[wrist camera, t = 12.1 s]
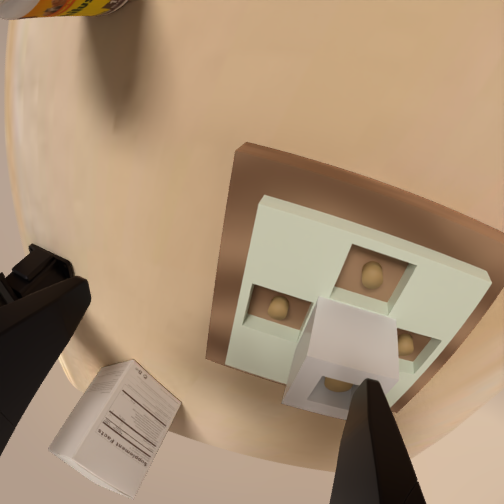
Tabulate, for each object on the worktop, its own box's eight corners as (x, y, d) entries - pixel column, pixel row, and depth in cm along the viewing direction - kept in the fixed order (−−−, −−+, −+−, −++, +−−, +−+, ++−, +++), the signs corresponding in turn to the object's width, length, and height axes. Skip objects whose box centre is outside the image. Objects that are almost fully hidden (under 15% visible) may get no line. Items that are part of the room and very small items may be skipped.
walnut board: (397, 395, 26) (394, 460, 20) (213, 342, 28) (182, 404, 23) (512, 237, 16) (556, 308, 10) (246, 142, 18) (194, 184, 12)
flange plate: (486, 270, 15) (515, 339, 11) (388, 398, 24) (385, 457, 19) (264, 194, 17) (228, 250, 13) (229, 353, 25) (204, 410, 21)
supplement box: (145, 405, 42) (99, 486, 30) (101, 365, 39) (45, 448, 27) (184, 403, 37) (135, 502, 25) (134, 357, 34) (69, 460, 22)
